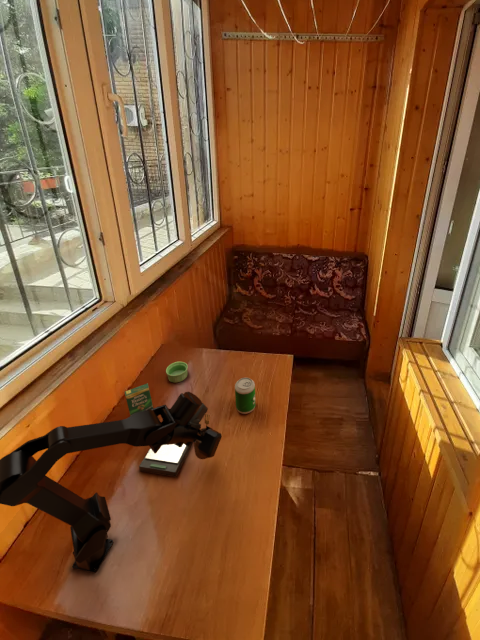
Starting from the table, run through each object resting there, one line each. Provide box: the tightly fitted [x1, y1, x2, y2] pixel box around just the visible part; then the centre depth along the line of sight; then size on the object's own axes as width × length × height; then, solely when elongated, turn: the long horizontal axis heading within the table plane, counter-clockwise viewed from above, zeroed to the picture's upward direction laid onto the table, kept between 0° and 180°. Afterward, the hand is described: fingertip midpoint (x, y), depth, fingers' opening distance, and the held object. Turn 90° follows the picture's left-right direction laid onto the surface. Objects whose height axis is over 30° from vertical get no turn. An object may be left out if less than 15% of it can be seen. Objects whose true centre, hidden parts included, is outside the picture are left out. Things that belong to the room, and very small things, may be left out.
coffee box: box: [124, 382, 154, 417], centre depth 113 cm, size 8×3×13 cm, turn 121°
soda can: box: [234, 377, 257, 415], centre depth 118 cm, size 8×8×12 cm
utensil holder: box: [193, 413, 211, 460], centre depth 96 cm, size 6×6×12 cm
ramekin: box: [165, 361, 189, 384], centre depth 135 cm, size 9×9×4 cm
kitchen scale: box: [138, 442, 194, 478], centre depth 102 cm, size 14×12×2 cm
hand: (206, 431), depth 97 cm, fingers closed on utensil holder, 5 cm apart
